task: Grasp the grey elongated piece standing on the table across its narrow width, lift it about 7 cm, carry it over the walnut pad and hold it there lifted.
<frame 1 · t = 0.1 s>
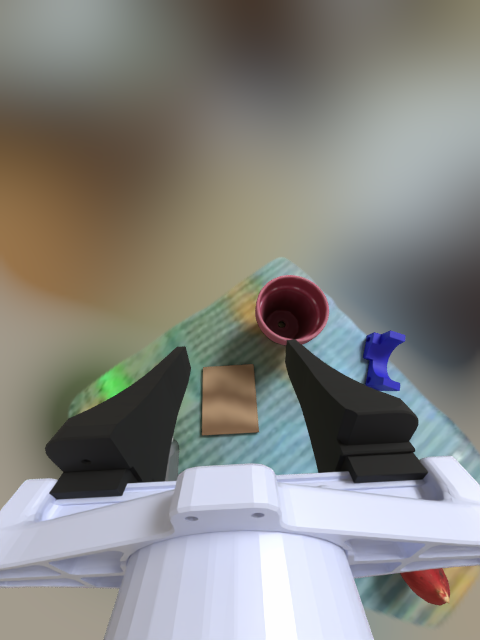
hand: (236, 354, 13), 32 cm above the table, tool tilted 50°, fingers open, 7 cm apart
walnut pad: (229, 397, 42), on the table
grey elongated piece: (168, 464, 38), on the table
cable clip: (371, 361, 44), on the table
onion: (400, 549, 32), on the table
plant pot: (281, 327, 47), on the table
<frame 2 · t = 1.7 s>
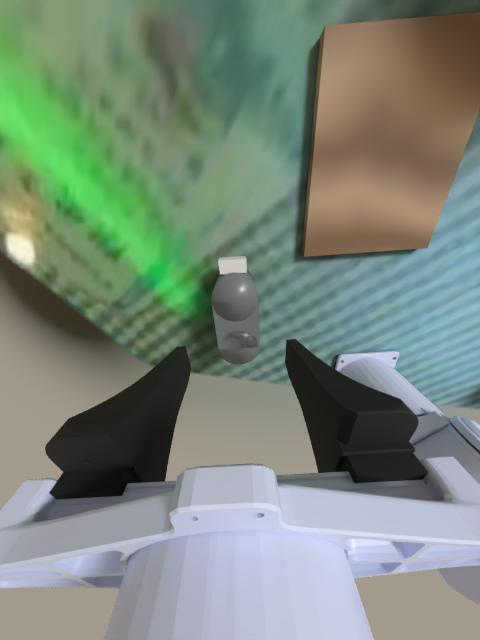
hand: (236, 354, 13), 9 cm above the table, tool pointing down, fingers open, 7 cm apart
walnut pad: (380, 163, 15), on the table
grey elongated piece: (236, 304, 21), on the table
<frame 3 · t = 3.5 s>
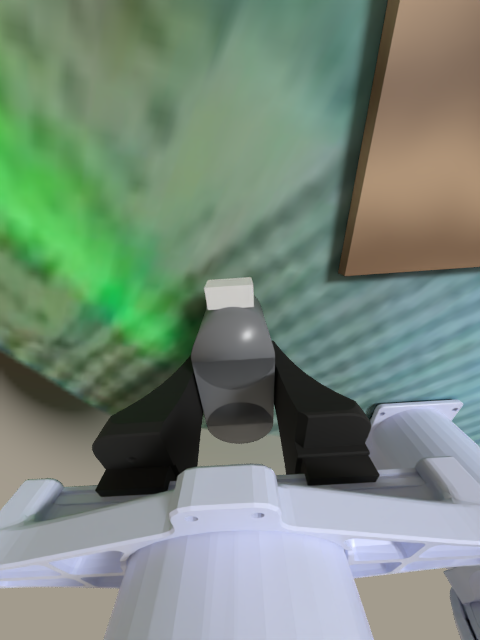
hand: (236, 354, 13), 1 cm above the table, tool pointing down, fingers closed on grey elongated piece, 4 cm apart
grey elongated piece: (236, 343, 14), on the table, touching gripper
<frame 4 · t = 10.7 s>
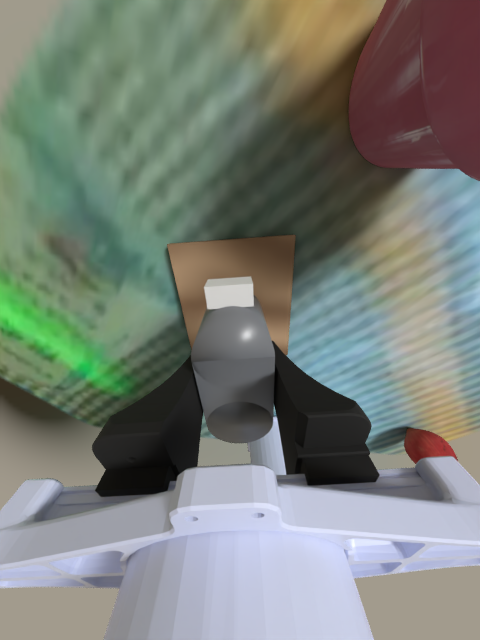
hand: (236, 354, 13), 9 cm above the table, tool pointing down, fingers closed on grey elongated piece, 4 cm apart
walnut pad: (236, 305, 21), on the table
grey elongated piece: (236, 342, 14), point 7 cm above the table, touching gripper
onion: (408, 427, 33), on the table
plant pot: (408, 93, 14), on the table
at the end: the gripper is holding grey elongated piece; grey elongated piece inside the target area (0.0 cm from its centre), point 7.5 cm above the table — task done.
